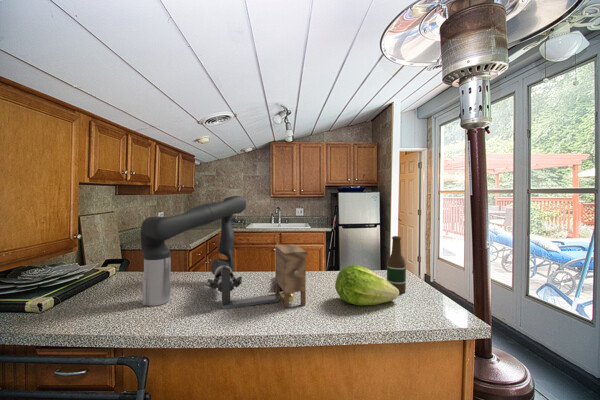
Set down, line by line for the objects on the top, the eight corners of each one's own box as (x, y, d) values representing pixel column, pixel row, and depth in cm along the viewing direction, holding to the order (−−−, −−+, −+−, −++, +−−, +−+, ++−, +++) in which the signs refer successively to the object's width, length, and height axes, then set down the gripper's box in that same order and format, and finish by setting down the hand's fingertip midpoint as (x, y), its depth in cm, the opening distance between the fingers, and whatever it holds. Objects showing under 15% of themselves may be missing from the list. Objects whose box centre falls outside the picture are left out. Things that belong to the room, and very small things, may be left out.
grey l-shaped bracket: (222, 309, 100) (221, 271, 100) (221, 304, 104) (221, 268, 103) (278, 301, 106) (277, 265, 106) (275, 298, 110) (275, 263, 110)
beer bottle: (386, 292, 117) (386, 237, 117) (387, 287, 125) (387, 234, 124) (405, 295, 114) (405, 238, 114) (405, 289, 122) (406, 235, 121)
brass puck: (282, 302, 106) (282, 296, 106) (279, 298, 111) (279, 292, 111) (294, 301, 108) (295, 295, 108) (291, 297, 113) (291, 291, 113)
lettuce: (383, 305, 116) (396, 327, 100) (329, 286, 115) (334, 305, 99) (397, 274, 114) (412, 292, 98) (342, 254, 113) (349, 269, 97)
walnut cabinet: (284, 309, 100) (284, 253, 99) (274, 293, 116) (274, 245, 116) (307, 306, 102) (308, 251, 102) (294, 291, 119) (294, 244, 119)
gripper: (206, 268, 113) (205, 280, 97) (240, 265, 118) (245, 276, 101) (206, 286, 114) (205, 301, 97) (240, 283, 118) (245, 296, 102)
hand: (226, 288), depth 99 cm, fingers closed on grey l-shaped bracket, 3 cm apart
